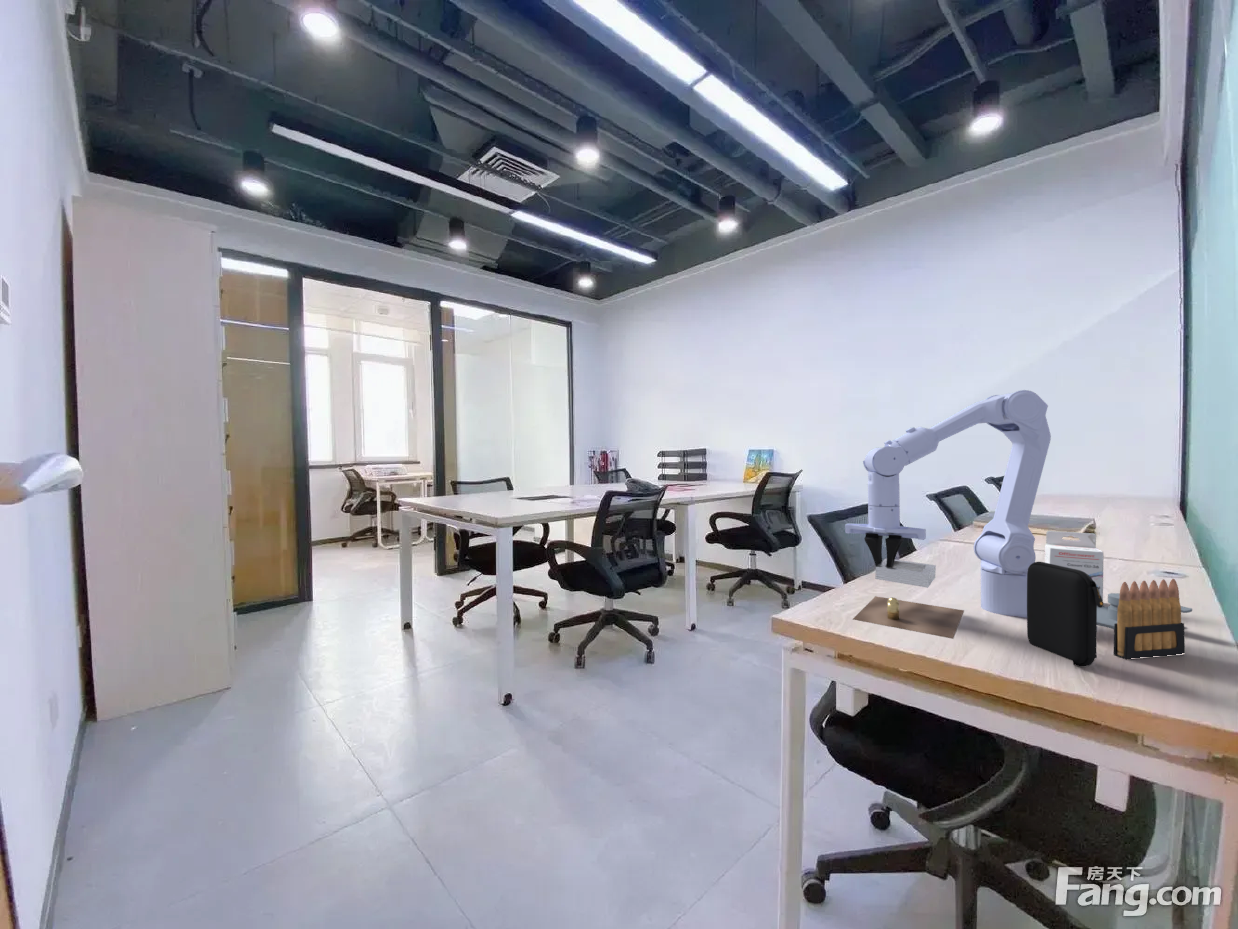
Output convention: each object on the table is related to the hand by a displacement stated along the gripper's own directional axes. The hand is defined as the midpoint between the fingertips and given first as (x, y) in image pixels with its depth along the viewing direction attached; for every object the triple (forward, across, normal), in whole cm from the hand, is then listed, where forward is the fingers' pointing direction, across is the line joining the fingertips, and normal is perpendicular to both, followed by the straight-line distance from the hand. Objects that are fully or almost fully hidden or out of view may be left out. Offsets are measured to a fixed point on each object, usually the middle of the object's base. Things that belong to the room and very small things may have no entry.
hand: (884, 570), depth 100 cm
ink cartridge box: (+9, +30, +29) cm, 43 cm away
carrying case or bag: (+9, +27, -9) cm, 30 cm away
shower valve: (+9, +37, +19) cm, 43 cm away
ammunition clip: (+9, +37, +1) cm, 38 cm away
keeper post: (+7, +3, -7) cm, 11 cm away
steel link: (+1, +4, 0) cm, 4 cm away
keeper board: (+8, +5, -3) cm, 10 cm away
